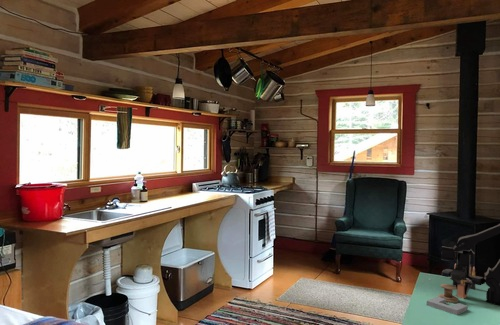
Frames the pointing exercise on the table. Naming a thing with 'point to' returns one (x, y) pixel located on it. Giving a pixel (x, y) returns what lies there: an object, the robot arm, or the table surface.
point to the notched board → (447, 306)
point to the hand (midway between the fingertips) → (462, 293)
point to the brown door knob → (448, 293)
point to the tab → (461, 291)
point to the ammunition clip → (466, 279)
